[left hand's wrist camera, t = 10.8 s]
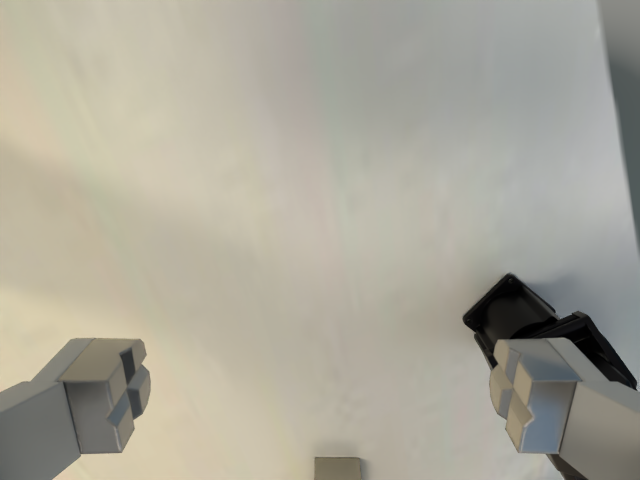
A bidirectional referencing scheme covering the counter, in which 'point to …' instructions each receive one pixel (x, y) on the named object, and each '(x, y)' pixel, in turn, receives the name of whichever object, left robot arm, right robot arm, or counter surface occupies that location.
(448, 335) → the counter surface
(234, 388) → the counter surface
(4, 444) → the left robot arm
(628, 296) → the counter surface
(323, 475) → the beige cube
